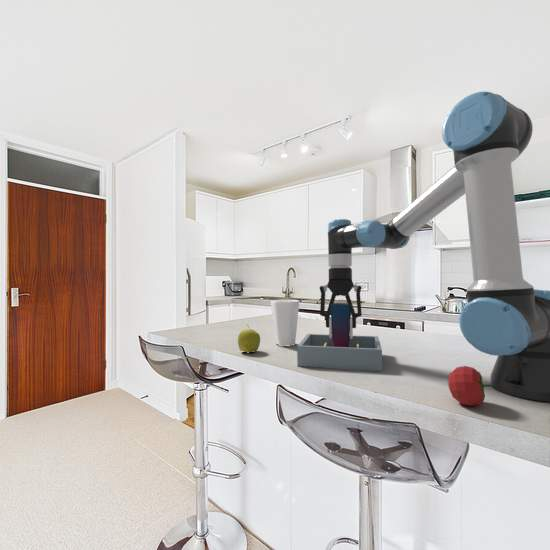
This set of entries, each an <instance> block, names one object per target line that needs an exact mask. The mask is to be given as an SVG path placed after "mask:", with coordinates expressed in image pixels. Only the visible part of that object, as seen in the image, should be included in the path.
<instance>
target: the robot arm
mask: <svg viewBox="0 0 550 550" xmlns="http://www.w3.org/2000/svg"><path fill="white" fill-rule="evenodd" d="M442 125H443V126H442V130H441V135H442V140H443V142H444V143H445V145H446V147H448V149H450V150H452V151H453V160H454V165H453V166H452V167H451V168H450V169H449V170H447V172H446V173H444V174H443V175H442V176H441V177H440V178H439V179H437V181H435V182H434V183H433V184H431V186H429V187H428V188H427V189H426V190H425V191H423V193H421V194H420V195H419V196H418V197H417V198H415V200H413V201H412V202H411V203H410V204H409V205H408V206H407V207H405V208H404V209H403V210H402V211H401V212H400V213H398V214H397V215H396V216H394V218H392V219H391V220H390V221H388V223H387V224H385V223H381V221H379V220H376V219H375V220H374V219H373V220H365V221H362V222H361V221H360V222H356V223H352V221H351V220H350V219H345V218H343V219H341V218H339V219H332V220H330V221H329V222H328V225H327V228H328V229H327V243H328V244H327V246H328V248H327V250H328V251H327V253H328V258H327V259H328V263H327V264H328V267H330V268H328V282H327V284H326V285H320V286H319V290H320V291H319V292H320V306H319V307H320V310H319V315H320V316H321V317H324V319H325V327H326V328H329V329H328V331H329V332H328V333H329V334H328V335H329V338H332V318H331V304H334V303H335V301H336V298H337V297H338V296H341V297H345V300H346V303H348V304H350V312H351V318H350V339H353V335H354V333H353V331H354V330H353V329H356V328H357V318H359V317H362V315H363V313H362V302H361V301H362V300H361V291H362V286H361V285H356V284H354V281H353V269H352V265H353V263H352V262H353V261H352V260H353V258H352V256H353V255H352V253H353V252H352V249H355V248H356V249H357V248H358V249H359V248H374V249H375V248H376V249H377V248H379V249H380V248H381V249H390V250H395V249H396V250H397V249H402V248H404V247H406V246H407V245H408V243H409V241H410V237H411V236H412V235H413V234H414V233H416V232H417V231H418V230H420V229H421V228H423V226H425V225H426V224H427V223H429V222H430V221H432V220H433V219H434V218H435V217H437V216H438V215H439V214H440V213H442V212H443V211H445V210H446V209H447V208H448V207H450V206H451V205H452V204H454V203H455V202H456V201H457V200H459V199H460V198H462V197H463V196H464V195H465V201H466V202H465V203H466V213H467V214H466V215H467V222H468V223H467V224H468V225H467V226H468V234H469V235H468V237H469V246H470V254H471V256H470V257H471V265H472V266H471V267H472V278H473V282H472V284H470V285H469V286H468V288H466V300H467V303H466V304H465V306H464V308H462V310H461V312H460V314H459V320H458V322H459V323H458V324H459V328H460V331H461V334H462V336H463V337H464V339H465V340H466V341H467V342H468V344H470V345H471V346H473V348H474V349H476V350H478V351H479V352H481V353H483V354H486V355H489V356H497V358H496V360H495V363H494V365H493V368H492V371H491V373H490V385H491V387H493V388H494V389H495V390H498V391H500V392H502V393H504V394H506V395H509V396H510V395H511V396H513V397H517V398H521V399H526V400H532V401H537V402H538V401H539V402H548V403H549V402H550V290H546V289H545V290H543V289H537V288H536V289H534V286H533V285H532V284H531V283H529V282H528V281H527V280H525V279H524V275H523V267H522V266H523V265H522V258H521V257H522V256H521V248H520V246H521V245H520V237H519V228H518V227H519V226H518V218H517V207H516V199H515V189H514V180H513V169H512V163H513V162H514V161H515V160H517V159H518V158H519V157H520V156H521V154H522V153H523V152H524V151H525V150H526V149H527V147H528V145H529V143H530V142H531V139H532V134H533V127H534V126H533V121H532V119H531V117H530V116H529V114H528V113H527V112H526V111H525V110H523V109H521V108H520V107H518V106H515V105H514V104H512V103H511V102H509V101H508V100H507V99H505V98H504V97H503V95H500V94H498V93H494V92H491V91H478V92H477V91H476V92H473V93H471V94H469V95H467V96H465V97H464V98H462V99H461V100H460V101H459V102H457V103H456V104H455V105H454V106H453V107H452V109H451V111H450V112H449V113H448V114H447V116H446V117H445V120H444V122H443V124H442ZM352 289H354V290H353V291H354V292H355V294H356V296H355V297H356V309H357V312H356V311H355V308H354V305H353V302H352V299H351V295H350V292H351V290H352ZM328 290H329V291H330V292H331V296H330V300H329V303H328V307H327V310H326V292H327V291H328Z"/></svg>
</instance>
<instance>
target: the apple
mask: <svg viewBox="0 0 550 550" xmlns="http://www.w3.org/2000/svg"><path fill="white" fill-rule="evenodd" d="M247 326H248V328H244V329H242V330H241V331H240V332H239V334H238V336H237V346H238V349H239V350H240V352H241V351H244V352H253V351H256V352H257V351H258V350H259V348H260V345H261V336H260V334H259V333H258V332H257V331H256V330H255V329H250V327H249V325H248V324H247Z"/></svg>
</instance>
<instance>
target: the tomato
mask: <svg viewBox="0 0 550 550" xmlns="http://www.w3.org/2000/svg"><path fill="white" fill-rule="evenodd" d="M448 375H449V376H448V380H447V385H448V389H449V392H450V393H451V395H452V398H453V399H455V400H456V401H457V402H459V403H460V404H462V405H463V406H469V407H475V406H479V405H481V404H482V403H483V402H484V401H485V397H486V393H485V388H486V387H492V385H491V384H484V382H483V376H482V374H481V372H480V371H478V370H477V369H475V368H474V367H472V366H468V365H462V366H458V367H456V368H455V369H453V370H452V371H451V372H450V373H449V374H448Z"/></svg>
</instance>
